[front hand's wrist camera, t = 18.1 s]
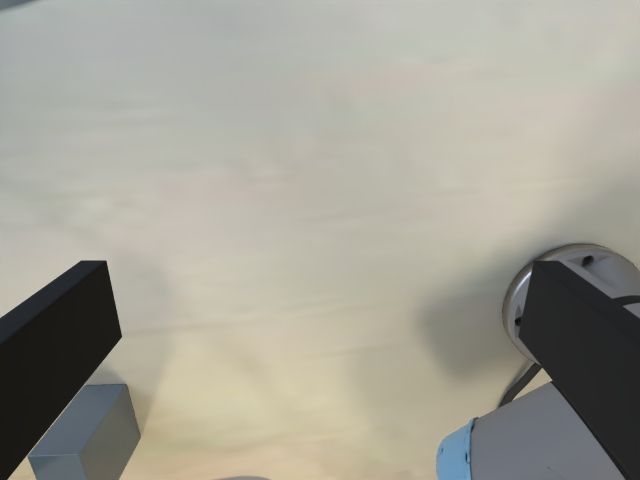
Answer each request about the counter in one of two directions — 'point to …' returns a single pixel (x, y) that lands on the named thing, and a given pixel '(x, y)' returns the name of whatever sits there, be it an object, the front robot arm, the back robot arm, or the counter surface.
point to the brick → (89, 437)
